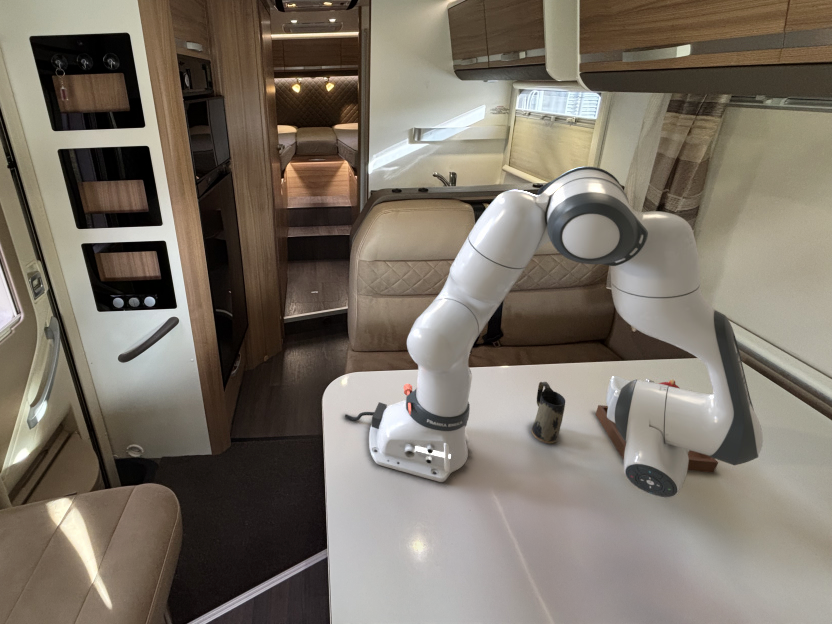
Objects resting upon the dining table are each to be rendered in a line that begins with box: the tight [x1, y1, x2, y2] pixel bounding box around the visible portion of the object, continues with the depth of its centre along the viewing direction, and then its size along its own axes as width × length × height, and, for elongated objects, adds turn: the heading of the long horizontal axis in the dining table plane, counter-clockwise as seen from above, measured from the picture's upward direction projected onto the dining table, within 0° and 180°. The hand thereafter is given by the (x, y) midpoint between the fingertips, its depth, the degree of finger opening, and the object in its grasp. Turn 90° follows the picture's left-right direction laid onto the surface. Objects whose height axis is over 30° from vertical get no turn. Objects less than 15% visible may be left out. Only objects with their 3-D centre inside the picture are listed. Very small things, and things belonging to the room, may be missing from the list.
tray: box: [595, 404, 719, 474], centre depth 99 cm, size 18×15×3 cm
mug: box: [531, 381, 566, 444], centre depth 100 cm, size 8×6×12 cm
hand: (669, 389), depth 91 cm, fingers closed on onion, 6 cm apart
